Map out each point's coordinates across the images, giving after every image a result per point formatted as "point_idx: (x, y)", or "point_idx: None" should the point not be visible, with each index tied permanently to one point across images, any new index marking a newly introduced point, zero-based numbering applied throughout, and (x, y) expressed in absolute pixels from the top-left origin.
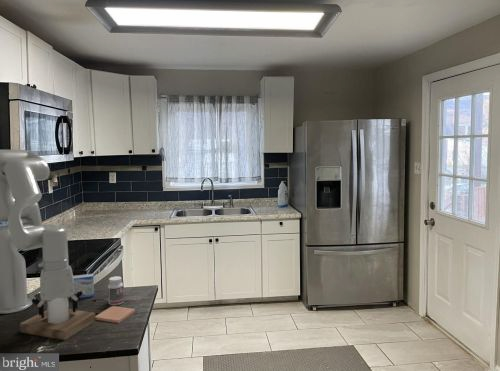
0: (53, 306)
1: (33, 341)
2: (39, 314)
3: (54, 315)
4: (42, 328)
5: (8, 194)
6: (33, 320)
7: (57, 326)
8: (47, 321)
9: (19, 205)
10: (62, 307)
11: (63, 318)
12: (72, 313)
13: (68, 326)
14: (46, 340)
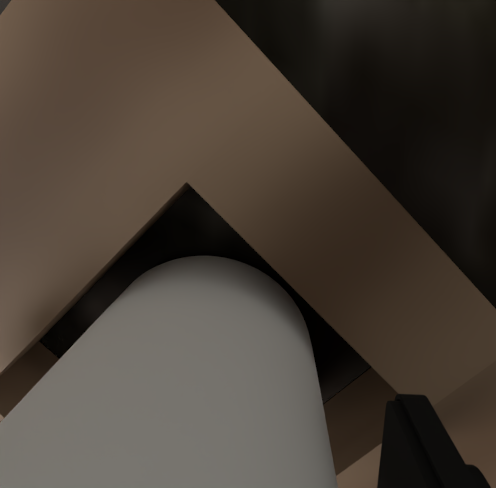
0: (219, 483)
1: (480, 103)
2: (471, 471)
3: (231, 343)
4: (401, 209)
5: None
6: None
7: (209, 125)
8: None
9: None
10: (31, 420)
11: (121, 308)
12: None
13: (57, 45)
14: (347, 55)
